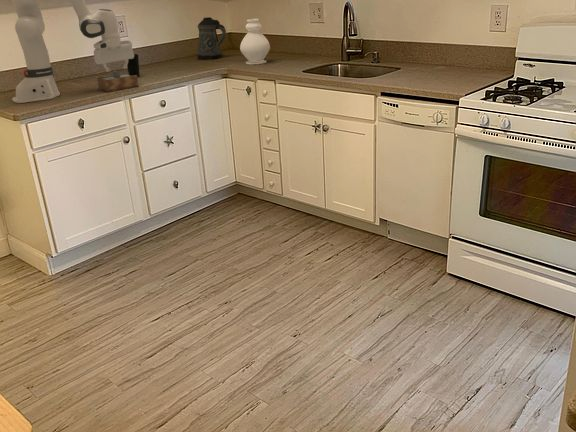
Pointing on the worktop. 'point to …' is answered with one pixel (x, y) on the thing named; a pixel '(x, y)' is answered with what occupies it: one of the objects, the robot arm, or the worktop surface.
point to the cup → (133, 66)
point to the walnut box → (117, 83)
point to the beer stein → (210, 39)
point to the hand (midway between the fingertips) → (117, 70)
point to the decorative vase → (254, 43)
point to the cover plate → (116, 75)
